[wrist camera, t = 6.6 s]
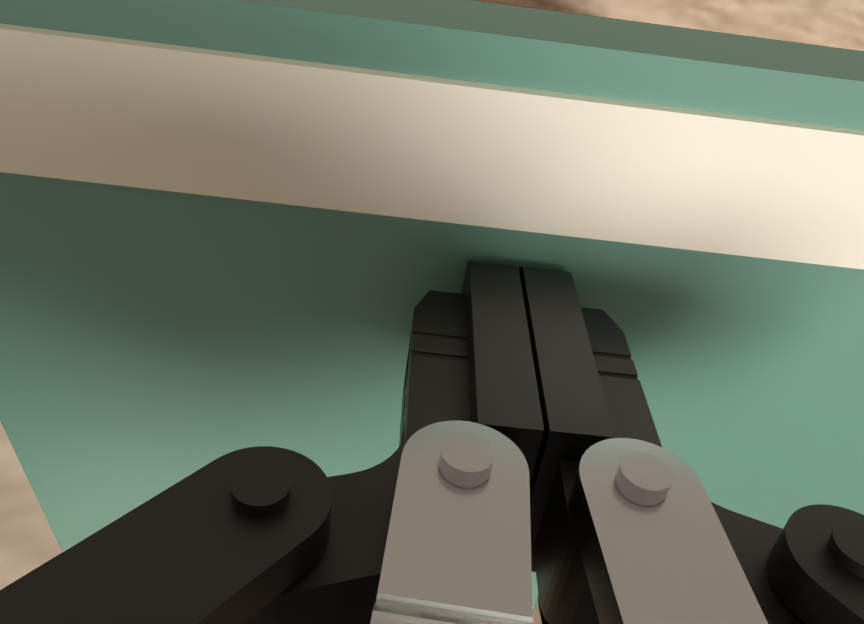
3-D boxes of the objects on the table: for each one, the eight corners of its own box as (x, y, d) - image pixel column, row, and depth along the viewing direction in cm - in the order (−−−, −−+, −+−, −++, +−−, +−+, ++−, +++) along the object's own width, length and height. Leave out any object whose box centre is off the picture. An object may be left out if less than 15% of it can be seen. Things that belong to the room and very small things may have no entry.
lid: (81, 535, 19) (67, 571, 18) (-181, -86, 9) (-234, -54, 8) (752, 593, 20) (762, 629, 19) (1221, 98, 10) (1276, 139, 9)
